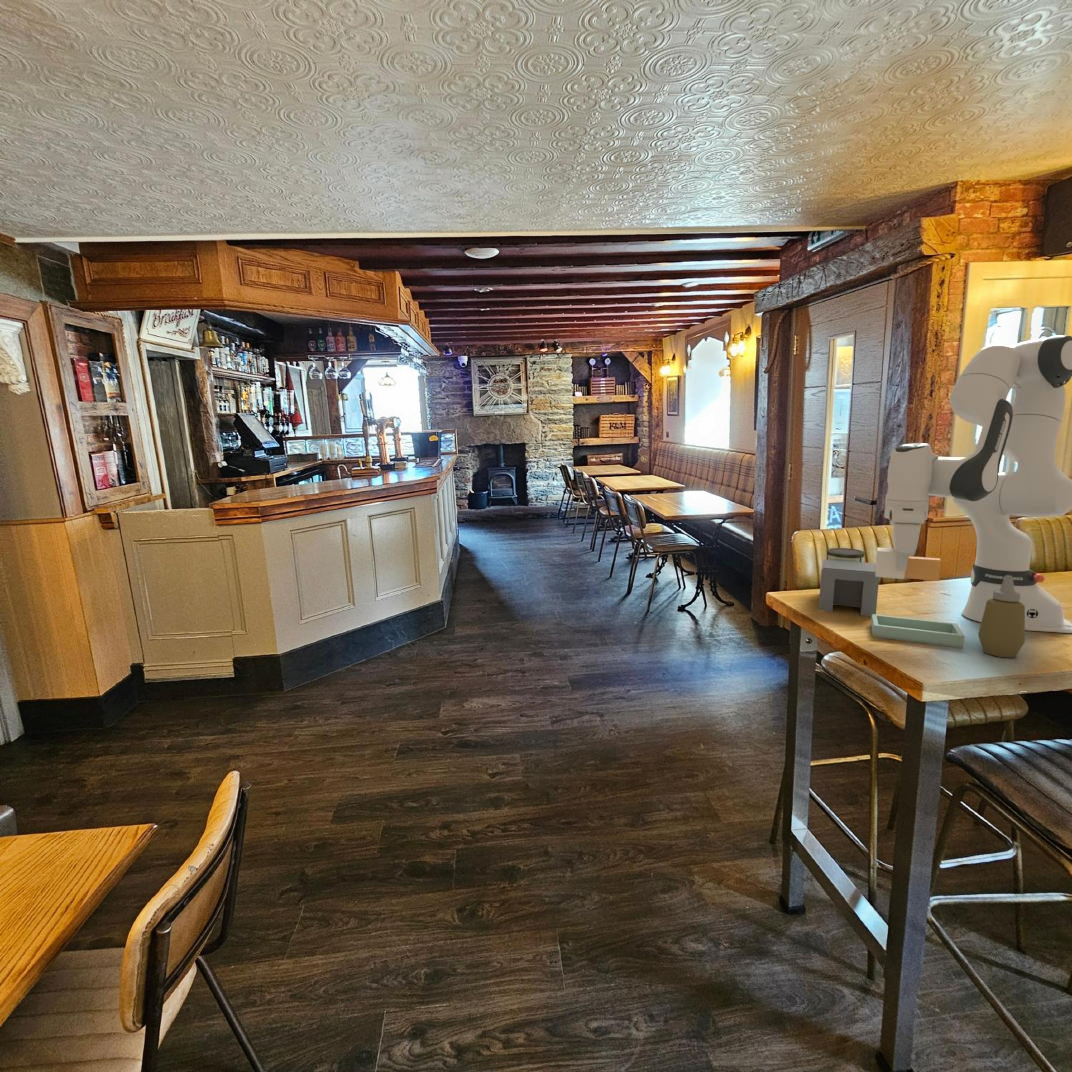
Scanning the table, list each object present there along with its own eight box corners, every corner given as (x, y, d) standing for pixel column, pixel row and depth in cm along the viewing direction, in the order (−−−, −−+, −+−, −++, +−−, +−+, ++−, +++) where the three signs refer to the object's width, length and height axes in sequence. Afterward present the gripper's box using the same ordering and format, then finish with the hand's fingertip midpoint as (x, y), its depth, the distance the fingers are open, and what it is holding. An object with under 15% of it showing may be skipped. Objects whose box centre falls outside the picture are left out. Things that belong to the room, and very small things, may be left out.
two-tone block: (875, 572, 144) (877, 547, 143) (937, 577, 137) (939, 551, 136) (875, 576, 140) (877, 550, 138) (939, 582, 133) (942, 555, 132)
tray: (955, 635, 139) (956, 623, 139) (963, 648, 131) (964, 635, 130) (870, 625, 148) (871, 613, 147) (872, 636, 139) (873, 625, 138)
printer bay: (873, 604, 166) (876, 563, 164) (875, 616, 154) (879, 572, 152) (819, 598, 172) (822, 559, 170) (818, 610, 161) (821, 568, 159)
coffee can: (818, 590, 181) (821, 547, 179) (852, 591, 180) (855, 547, 178) (831, 599, 171) (835, 554, 169) (867, 600, 170) (871, 554, 168)
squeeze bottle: (1022, 663, 122) (1033, 582, 119) (975, 654, 127) (984, 576, 124) (1022, 652, 128) (1033, 575, 125) (977, 644, 133) (986, 570, 130)
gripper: (888, 505, 147) (884, 557, 149) (892, 516, 129) (887, 574, 132) (918, 506, 144) (913, 560, 146) (925, 517, 126) (919, 577, 129)
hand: (900, 567), depth 139 cm, fingers closed on two-tone block, 5 cm apart
